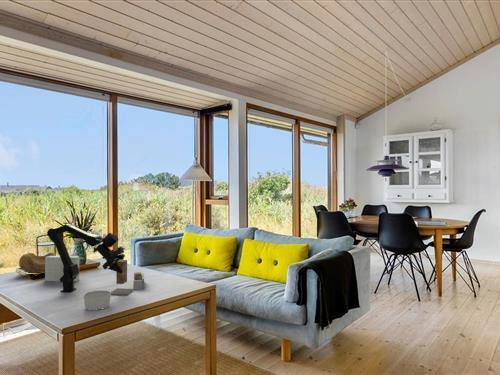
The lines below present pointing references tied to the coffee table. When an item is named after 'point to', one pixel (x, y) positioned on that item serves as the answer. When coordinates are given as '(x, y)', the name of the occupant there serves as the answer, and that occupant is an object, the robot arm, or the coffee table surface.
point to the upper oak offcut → (137, 276)
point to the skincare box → (57, 267)
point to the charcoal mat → (121, 291)
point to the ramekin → (97, 299)
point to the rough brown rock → (34, 262)
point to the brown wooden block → (122, 277)
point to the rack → (139, 282)
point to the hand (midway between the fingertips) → (124, 271)
